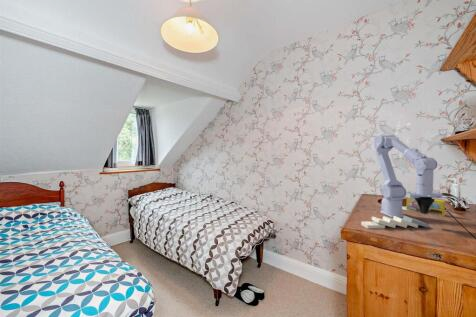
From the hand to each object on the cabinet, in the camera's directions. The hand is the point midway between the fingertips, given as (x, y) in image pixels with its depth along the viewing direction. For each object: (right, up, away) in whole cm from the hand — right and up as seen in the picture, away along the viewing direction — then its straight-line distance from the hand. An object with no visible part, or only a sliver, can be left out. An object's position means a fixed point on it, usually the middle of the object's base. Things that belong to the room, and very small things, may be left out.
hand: (423, 213), depth 100 cm
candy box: (+18, -5, +20) cm, 27 cm away
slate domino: (0, -5, 0) cm, 5 cm away
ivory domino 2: (-15, -5, 0) cm, 16 cm away
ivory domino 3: (-10, -5, 0) cm, 11 cm away
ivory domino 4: (-5, -5, 0) cm, 7 cm away
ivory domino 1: (-19, -6, 0) cm, 20 cm away
